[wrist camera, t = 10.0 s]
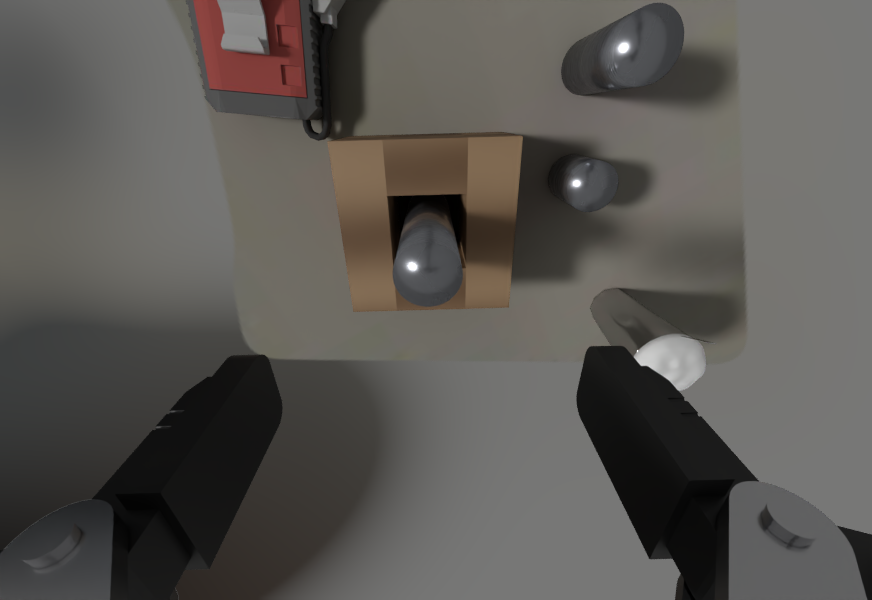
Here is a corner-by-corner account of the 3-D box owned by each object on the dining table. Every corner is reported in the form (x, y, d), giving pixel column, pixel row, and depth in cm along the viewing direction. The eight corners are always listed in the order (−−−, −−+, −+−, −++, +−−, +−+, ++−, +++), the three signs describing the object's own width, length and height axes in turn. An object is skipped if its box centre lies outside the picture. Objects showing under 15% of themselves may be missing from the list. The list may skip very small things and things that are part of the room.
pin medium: (565, 37, 21) (622, 3, 15) (615, 36, 21) (693, 2, 15) (558, 95, 22) (607, 86, 16) (605, 94, 22) (672, 85, 16)
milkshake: (650, 275, 28) (751, 348, 19) (623, 331, 31) (702, 418, 22) (597, 267, 28) (675, 338, 19) (574, 324, 30) (634, 410, 21)
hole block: (351, 136, 23) (327, 141, 18) (501, 132, 23) (522, 136, 18) (368, 274, 28) (353, 311, 22) (493, 271, 28) (508, 307, 22)
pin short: (551, 154, 24) (571, 161, 20) (594, 153, 24) (623, 159, 20) (545, 199, 25) (564, 212, 22) (587, 198, 25) (612, 211, 22)
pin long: (406, 189, 25) (389, 242, 14) (448, 188, 25) (463, 241, 14) (409, 230, 26) (395, 307, 16) (449, 229, 26) (462, 305, 16)
